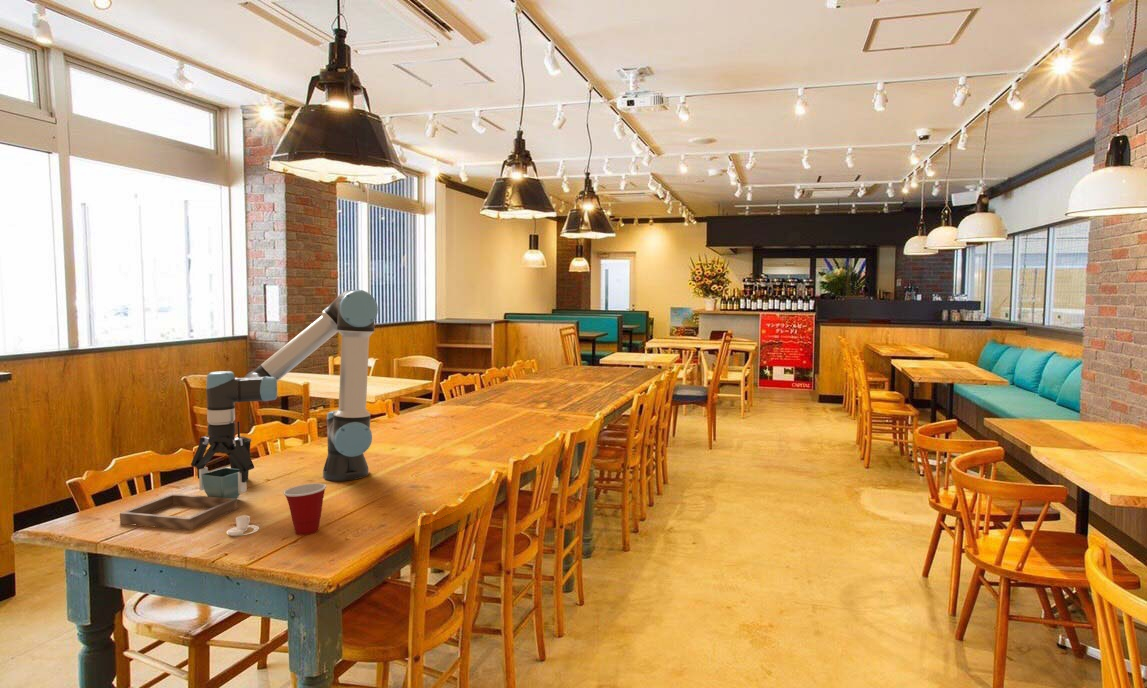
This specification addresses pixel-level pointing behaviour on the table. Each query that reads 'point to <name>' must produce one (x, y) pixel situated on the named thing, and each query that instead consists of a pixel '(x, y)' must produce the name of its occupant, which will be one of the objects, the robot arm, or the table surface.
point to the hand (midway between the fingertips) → (223, 491)
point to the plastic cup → (306, 506)
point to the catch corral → (144, 516)
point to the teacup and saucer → (242, 526)
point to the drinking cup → (247, 445)
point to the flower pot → (221, 483)
